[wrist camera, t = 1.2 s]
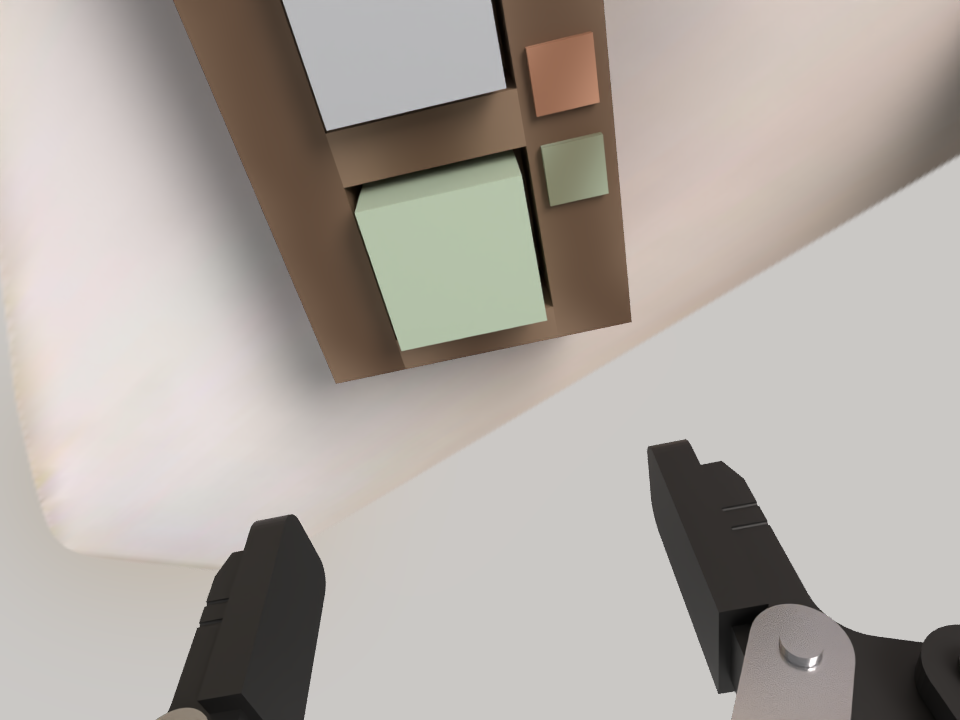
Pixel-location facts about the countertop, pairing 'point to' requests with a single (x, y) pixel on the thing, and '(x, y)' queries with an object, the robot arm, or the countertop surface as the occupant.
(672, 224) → the countertop surface
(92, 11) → the countertop surface
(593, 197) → the wooden compartment tray
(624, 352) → the countertop surface
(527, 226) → the sage key
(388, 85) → the grey key
